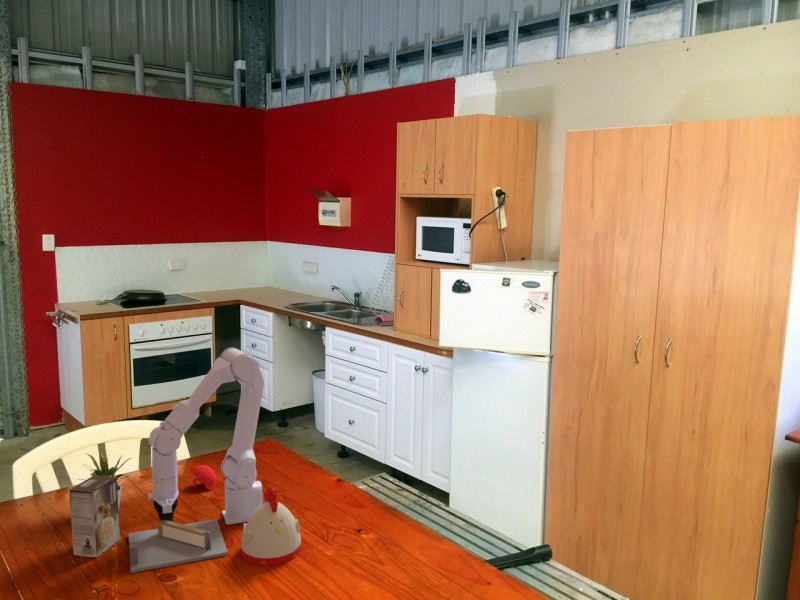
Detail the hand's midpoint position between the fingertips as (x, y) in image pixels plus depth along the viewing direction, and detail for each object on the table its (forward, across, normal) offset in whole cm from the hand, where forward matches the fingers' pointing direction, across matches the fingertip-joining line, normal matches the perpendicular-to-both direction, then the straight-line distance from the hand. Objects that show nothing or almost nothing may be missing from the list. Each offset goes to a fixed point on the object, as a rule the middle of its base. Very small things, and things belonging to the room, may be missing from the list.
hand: (166, 528), depth 167 cm
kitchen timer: (+2, +16, +23) cm, 28 cm away
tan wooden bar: (+1, +6, +3) cm, 7 cm away
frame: (+2, +6, +2) cm, 7 cm away
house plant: (+2, -20, -15) cm, 25 cm away
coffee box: (+2, 0, -16) cm, 16 cm away
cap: (+2, -27, +12) cm, 30 cm away
